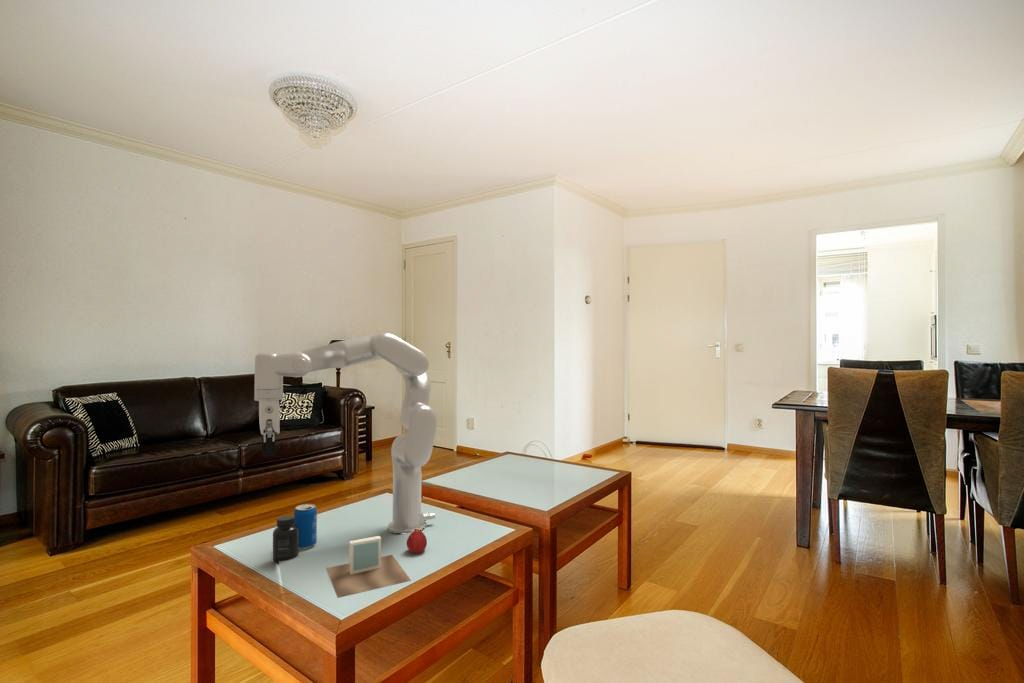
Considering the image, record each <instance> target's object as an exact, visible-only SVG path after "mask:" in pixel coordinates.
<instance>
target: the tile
mask: <svg viewBox="0 0 1024 683" xmlns="http://www.w3.org/2000/svg"><path fill="white" fill-rule="evenodd" d="M348 547H349V548H348V550H349V551H348V564H349V572H350V574H355V573H359V572H364V571H369V570H373V569H378V568H381V557H382V537H381V536H380V535H375V536H371V537H365V538H359V539H354V540H350V541H348Z"/></svg>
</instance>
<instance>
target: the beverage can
mask: <svg viewBox="0 0 1024 683" xmlns="http://www.w3.org/2000/svg"><path fill="white" fill-rule="evenodd" d="M293 516H295V524H294V525H296V526H297V527H298V528H299V550H307V549H310V548H311V549H312V548H313V546H314V545H316V544H317V538H318V537H317V536H318V535H317V533H318V532H317V523H318V521H317V520H318V519H317V518H318V510H317V507H316V504H314V503H313V504H312V503H304V504H303V503H302V504H299V505H297V506H296V507H295V509H294V512H293Z"/></svg>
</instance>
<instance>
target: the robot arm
mask: <svg viewBox="0 0 1024 683" xmlns="http://www.w3.org/2000/svg"><path fill="white" fill-rule="evenodd" d="M378 360H385V361H386V362H388V363H390V364H391V365H392V366H394V367H395V369H396V370H397V371H398V373H399V374H401V376H402V377H403V379H404V384H405V390H404V391H405V392H404V395H403V402H402V406H401V410H400V415H399V416H400V417H399V418H400V419H399V420H400V423H401V426H402V427H403V428H404V429H407V432H406V433H402V434H399V435H398V436H396V437H395V439H393V442H392V444H391V449H390V452H391V453H390V455H391V462H392V521H391V522H389V523H388V525H387V530H388V532H390V533H392V532H393V534H396V533H406V534H411V533H412V532H414V531H415V529H416V528H418V529H419V530H421V529H423V528H424V527H425V526H427V522H426V521H427V520H435V519H436V514H435V512H433V513H430V512H423V511H422V478H423V477H422V476H423V475H422V467H423V466H425V465H426V464H427V463H428V462H429V460H430V458H431V456H432V453H433V449H434V444H435V438H436V432H437V426H438V417H437V414H436V411H435V410H434V409H433V408H432V407H431V406H429V405H430V404H429V402H430V395H431V389H432V388H431V378H430V376H429V373H428V370H429V366H430V361H429V358H428V356H427V355H426V353H424V352H423V351H422V350H420V349H418V348H416V347H415V346H413V345H411V344H410V343H408V342H406V341H405V340H403V339H402V338H400V337H398V336H397V335H395V334H392V333H390V332H381V333H374V334H369V335H365V336H360V337H354V338H349V339H345V340H340V341H339V340H338V341H335V342H331V343H329V344H326V345H322V346H316V347H312V348H311V347H310V348H306V349H301V350H297V351H293V352H288V353H277V352H261V353H257V354H256V355H255V357H254V397H253V400H254V401H255V402H256V401H257V402H258V417H259V418H258V420H259V422H258V423H259V431H260V434H261V435H262V436H261V450H262V457H265V458H266V457H275V456H276V441H275V433H276V434H277V435H278V434H280V433H281V432H280V430H281V429H280V428H281V427H280V417H281V416H280V414H281V413H280V412H281V411H280V401H281V400H284V396H283V395H284V377H290V378H291V377H293V378H302V377H305V376H307V375H308V374H309V373H311V372H317V371H322V370H327V369H342V368H349V367H352V366H357V365H361V364H366V363H370V362H374V361H378ZM425 528H426V527H425ZM425 528H424V529H425ZM424 529H423V530H424ZM421 531H422V530H421Z"/></svg>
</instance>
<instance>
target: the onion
mask: <svg viewBox="0 0 1024 683" xmlns="http://www.w3.org/2000/svg"><path fill="white" fill-rule="evenodd" d="M406 546H407V549H408V551H409V552H410V553H412V554H420V553H423V552H424V551H425V550H426V548H427V546H428V541H427V536H426V535H425V533H424V532H423V531H422V530H421V531H420V530H419V529H418V528H416V529H415V531H414V532H412V533H409V536H408V538H407V539H406Z"/></svg>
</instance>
